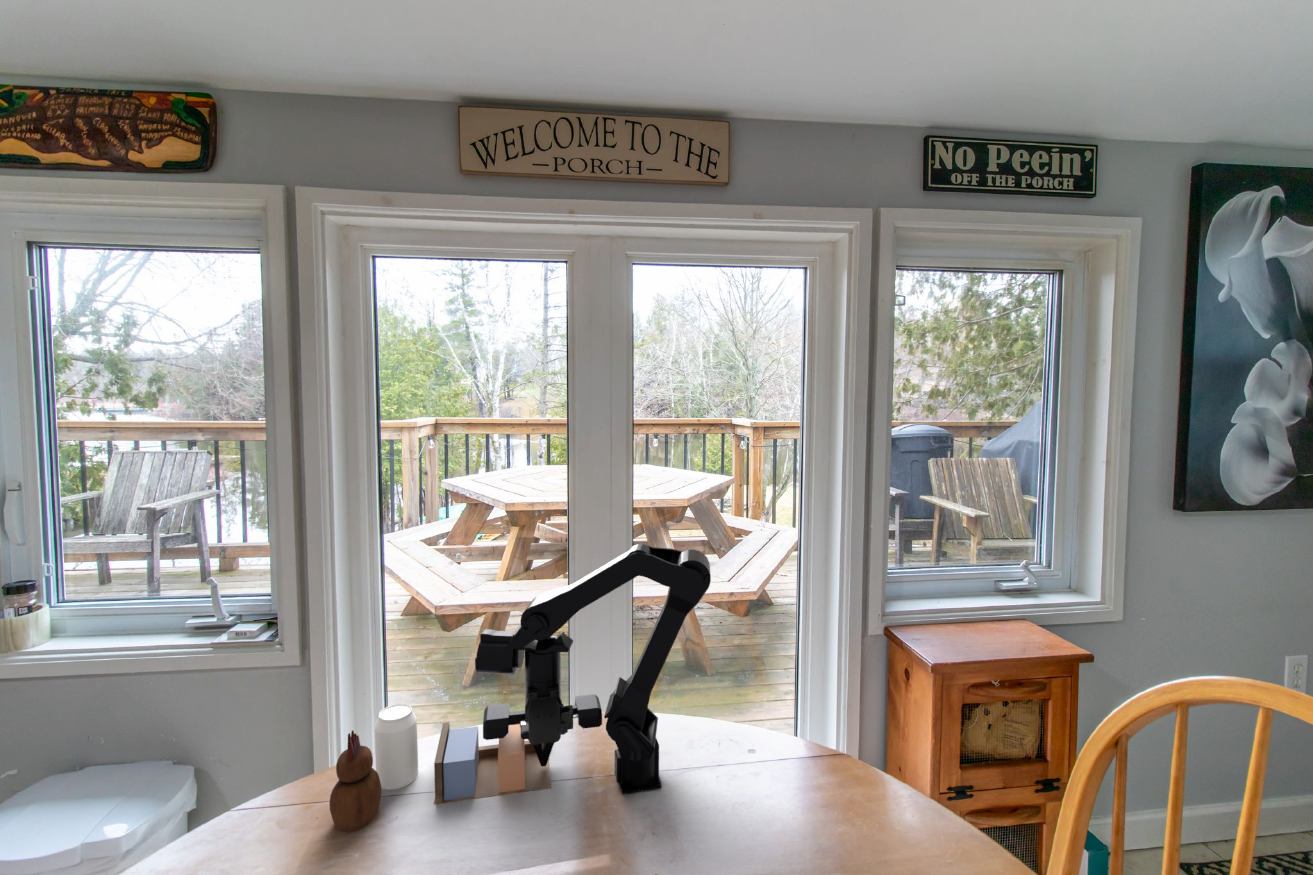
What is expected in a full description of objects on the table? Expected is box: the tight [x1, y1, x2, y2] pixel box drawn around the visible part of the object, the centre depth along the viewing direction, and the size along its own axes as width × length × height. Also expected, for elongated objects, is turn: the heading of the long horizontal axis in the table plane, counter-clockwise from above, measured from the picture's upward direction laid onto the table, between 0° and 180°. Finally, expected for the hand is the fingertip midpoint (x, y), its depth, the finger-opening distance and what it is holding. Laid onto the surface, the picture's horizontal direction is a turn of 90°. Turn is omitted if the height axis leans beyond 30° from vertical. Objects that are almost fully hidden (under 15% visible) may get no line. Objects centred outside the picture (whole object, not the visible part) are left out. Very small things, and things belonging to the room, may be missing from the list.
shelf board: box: [433, 721, 552, 806], centre depth 98 cm, size 18×11×8 cm, turn 103°
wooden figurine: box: [329, 730, 382, 833], centre depth 87 cm, size 7×6×15 cm
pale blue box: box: [443, 726, 480, 801], centre depth 96 cm, size 4×9×6 cm, turn 13°
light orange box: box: [498, 724, 525, 793], centre depth 98 cm, size 4×9×6 cm, turn 13°
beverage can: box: [373, 703, 419, 791], centre depth 96 cm, size 6×6×12 cm
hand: (543, 764), depth 99 cm, fingers closed
